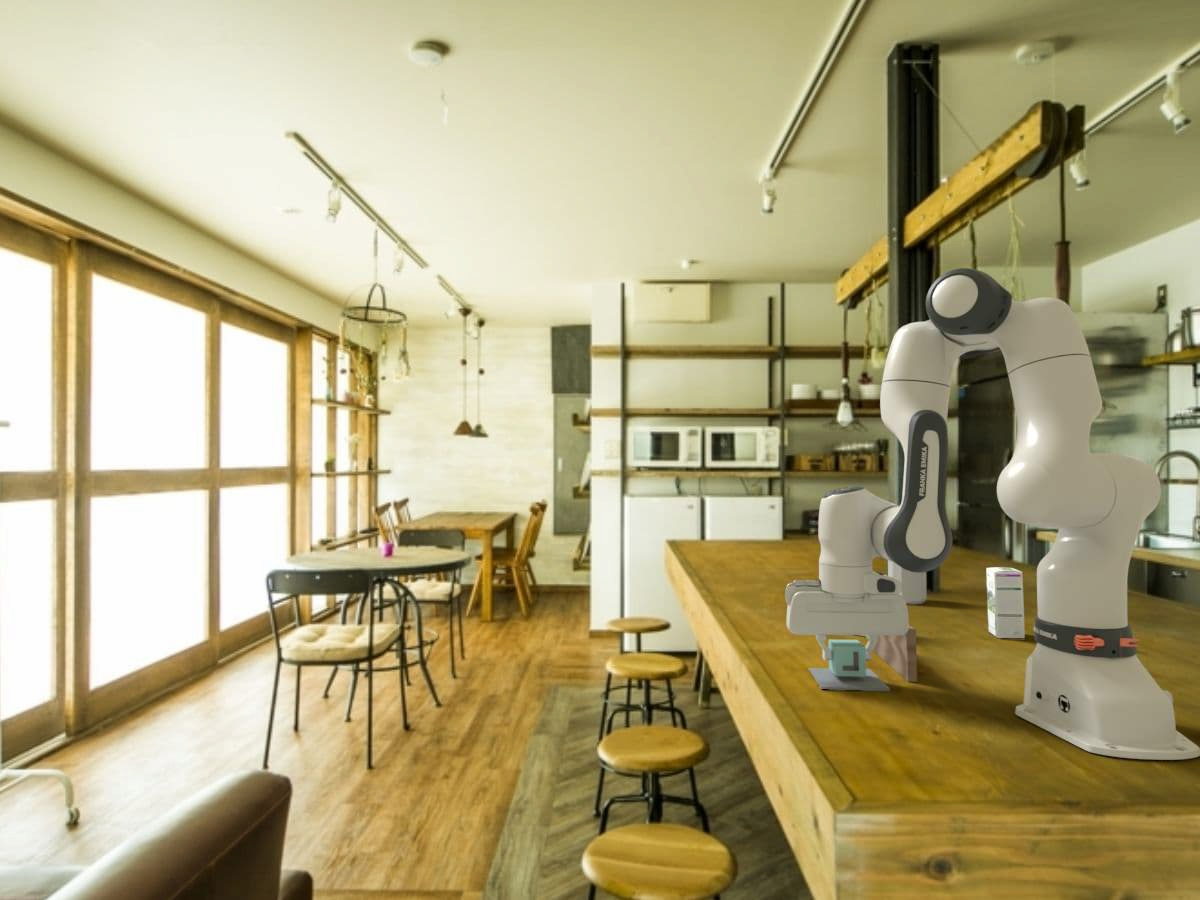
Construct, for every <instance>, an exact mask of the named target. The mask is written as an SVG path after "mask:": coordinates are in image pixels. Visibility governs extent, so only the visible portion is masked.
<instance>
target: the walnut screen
mask: <svg viewBox="0 0 1200 900" xmlns="http://www.w3.org/2000/svg"><path fill="white" fill-rule="evenodd" d="M872 652H874V653H875V654H877V655H878V656H879V657H880V658H881V659H882V660H883V661H885V662H886V664H888V666H890V668H892V669H893V670H894V671H896V672H897V673H898V674H899V675H900V676H901V677H902V678H903V679H904V680H906V682H911V683H914V682H915V683H918V673H917V671H918V670H917V669H918V668H917V666H918V665H917V663H918V662H917V628H914V627H913V626H912V625H910V624H909V630H908V631H907V633H906V634H905V635H878V642H877V644H876V646H875V647H874V649H873V651H872Z"/></svg>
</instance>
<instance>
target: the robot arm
mask: <svg viewBox="0 0 1200 900" xmlns="http://www.w3.org/2000/svg"><path fill="white" fill-rule="evenodd" d="M925 310H926V314H927V316H928V318H929V319H927V320H925V321H916V322H915V321H914V322H910V323H907V324H906V325H905V324H904V325H903V326H901V327H900V328H898V330H897V331H896V332H895V333H894V335H893V338H892V341H891V343H890V346H889V349H888V353H887V356H886V360H885V365H884V368H883V374H882V380H881V388H880V394H879V395H880V397H879V400H880V401H879V402H880V403H879V407H880V417H881V421H882V422H883V424H884V426H885V427H886V428H887V429H888V430H889V431H891V433H893V434H894V436H896V438H897V439H898V441H899V442H900V444H901V447H902V450H903V454H904V464H903V465H904V467H903V478H902V479H903V480H902V482H903V483H902V496H901V503H900V504H899V505H898V504H896V503H893V502H890V501H888V500H885V499H883V498H881V497H879V496H877V495H875V494H874V493H872V492H870V491H869V490H868V489H867V488H866V487H863V486H849V487H847V486H846V487H845V486H844V487H840V488H836V489H832V490H830V491H827V492H826V493H824V495H823V496H822V498H821V500H820V504H819V509H818V510H819V511H818V525H817V526H818V529H817V530H818V531H817V533H818V534H817V535H818V541H819V544H820V553H819V554H820V555H819V557H818V558H819V559H818V579H809V580H802V579H795V580H793V582H789V583H788V584H787V585H786V587H785V590H784V600H785V603H786V604H787V608H786V618H785V620H786V621H785V623H786V627H787V629H788V631H789V632H790V633H792V634H793V635H809V636H811V635H814V636H815V639H816V641H817V642H818V644H819V646H820V648H822V659H823V660H824V661H829V660H833V650H832V649H831V648H829V647H827V645H826V643H825V642H826V641H827V635H829V636H830V635H831V636H834V635H835V636H860V635H866V636H865V637H866V639H867V640H868V641H867V643H866V645H865V656H866V662H871V661H872V652H874V651H873V649H874V647H875V646H876V644H877V642H878V635H905V634H906V633H907V631H908V630H909V625H910V624H909V623H910V622H909V621H910V619H909V612H908V604H906V602H905V600H904V598H903V597H902V596H901V595H899V594H898V593H900V592H901V591H902V584H901V582H899V581H898V580H897V579H895V578H893V577H890V576H888V574H884V573H882V572H879V571H874V570H873V560H874V559H875V558H883V559H885V560H887V561H888V560H889V561H892V562H894V563H896V564H897V565H899V566H900V567H902V568H903V569H905V570H908V571H911V572H917V573H921V572H926V573H927V572H931V571H933V570H936V569H937V568H939V567H940V566H941V565H943V564H944V563H945V561H946V560H947V559H948V558H949V556H950V553H951V551H952V547H953V532H952V529H951V525H950V523H949V519H948V514H947V509H946V508H947V507H946V493H947V490H946V489H947V474H948V473H947V471H948V453H949V452H948V451H949V448H948V446H949V445H948V442H949V440H948V439H949V436H948V412H949V402H950V393H951V388H952V387H951V385H952V377H953V371H954V367H955V363H956V361H957V360H958V359H959V358H961V359H964V360H968V359H971V358H974V357H978V356H983V355H986V354H987V355H988V354H992V353H995V352H999V351H1001V353H1002V355H1003V358H1004V362H1005V363H1004V364H1005V366H1006V372H1007V377H1008V379H1009V385H1010V389H1011V394H1012V400H1013V403H1014V410H1015V414H1016V424H1017V425H1016V426H1017V427H1016V428H1017V429H1016V430H1017V431H1016V432H1017V433H1016V442H1015V446H1014V452H1013V455H1012V457H1011V459H1010V461H1009V463H1008V464H1007V465H1006V466H1004V468H1003V469H1002V470H1001V472H1000V474H999V476H998V480H997V484H996V496H997V501H998V503H999V506H1000V508H1001V509H1002V511H1003V512H1004V514H1006V516H1008V517H1009V518H1010V519H1011V520H1013V521H1015V522H1017V523H1020V524H1024V525H1026V526H1027V525H1028V526H1031V527H1034V528H1035V527H1036V528H1041V529H1049V530H1052V529H1053V530H1054V529H1058V532H1057V535H1056V538H1055V541H1054V543H1053V545H1052V547H1051V549H1050V550H1049V551H1048V553H1047V554H1046V555H1045V556H1043V558H1042V559H1040V561H1039V563H1038V564H1037V568H1036V597H1037V598H1036V599H1037V600H1036V604H1037V607H1036V609H1037V615H1036V616H1035V617H1034V620H1033V621H1034V624H1033V632H1034V634H1033V635H1034V640H1035V642H1037V643H1036V645H1035V648H1034V650H1033V651H1032V652H1031V654H1030V655H1029V656H1028V657H1027V659H1026V662H1025V676H1024V677H1025V678H1024V690H1023V691H1024V692H1023V693H1024V694H1023V703H1022V704H1019V705H1016V706H1015V711H1014V715H1016V716H1018V717H1020V718H1022V719H1024V720H1026V721H1028V722H1030V723H1031V724H1033V725H1035V726H1037V727H1039V728H1041V729H1043V730H1045V731H1048V732H1049V733H1051V734H1052V735H1054V736H1057V737H1058V738H1061V739H1063V740H1065V741H1067V742H1069V743H1071V744H1073V745H1074V746H1076V747H1079V748H1081V749H1083V750H1084V751H1086V752H1089V753H1093V754H1097V755H1102V756H1109V757H1116V758H1123V759H1124V758H1125V759H1133V760H1134V759H1137V760H1159V761H1160V760H1161V761H1164V760H1165V761H1167V760H1169V761H1173V760H1174V761H1175V760H1178V761H1179V760H1189V759H1195V758H1198V757H1200V747H1199V746H1198V745H1197V744H1196V743H1194V742H1193V741H1192V740H1190V739H1188V737H1186V736H1185V735H1183V734H1182V733H1180V732H1179V731H1178V730H1177V728H1176V727H1177V726H1176V720H1175V718H1176V717H1175V711H1174V699H1173V695H1172V693H1171V692H1170V691H1169V690H1163V689H1162V688H1161V687H1160V686H1159V685H1158V683H1157V682H1156V680H1155V679H1154V678H1153V677H1152V675H1151V674H1150V673H1149V671H1148V670H1147V668H1145V666H1144V665H1143V664H1142V662H1141V661H1140V660H1139V658H1138V656H1137V654H1138V648H1140V645H1139V644H1136V642H1140V639H1139V638H1135V637H1136V636H1135V635H1134V633H1133V631H1132V626H1131V625H1130V624H1129V623H1128V575H1129V567H1130V562H1131V558H1132V554H1133V551H1134V547H1135V544H1136V542H1137V539H1138V536H1139V533H1140V530H1141V528H1142V526H1143V524H1144V522H1145V520H1146V519H1147V517H1148V516H1149V515H1150V514H1151V513H1152V512H1153V511H1155V509H1156V508H1157V506H1158V505H1159V502H1160V500H1161V496H1162V486H1161V480H1160V479H1159V477H1158V475H1157V473H1156V471H1154V469H1153V468H1152V467H1151V466H1150V465H1148V464H1147V463H1145V462H1143V461H1141V460H1139V459H1135V458H1132V457H1130V456H1124V455H1121V454H1119V453H1118V454H1117V453H1110V452H1109V453H1108V452H1105V453H1101V452H1100V453H1099V452H1095V453H1092V452H1091V450H1090V449H1091V448H1090V434H1091V427H1092V424H1093V421H1094V420H1095V419H1096V418H1097V417H1098V416H1099V415H1100V414H1101V411H1102V408H1103V399H1102V396H1101V392H1100V388H1099V384H1098V380H1097V376H1096V373H1095V368H1094V365H1093V362H1092V357H1091V353H1090V350H1089V346H1088V344H1087V341H1086V338H1085V335H1084V333H1083V331H1082V328H1081V326H1080V324H1079V322H1078V319H1077V318H1076V316H1075V313H1074V311H1073V310H1072V309H1071V307H1070V306H1069V304H1068V303H1066V301H1064V300H1062V299H1059V298H1056V297H1049V296H1045V297H1036V298H1032V299H1027V300H1025V301H1018V300H1016V299H1015V298H1014V297H1013V296H1012V293H1011V292H1010V291H1009V290H1007V289H1006V287H1004V286H1003V285H1002V284H1001V283H1000V282H998V281H997V280H996V279H995V278H994V277H993V276H991V275H989V274H987V273H986V272H984V271H981V270H978V269H976V268H975V269H973V268H969V267H964V268H963V267H961V268H955V269H951V270H949V271H947V272H944V273H943V274H942V275H940V276H939V277H937V279H936V280H935V281H934V282H933V283H932V284H931V286H930V288H929V289H928V292H927V294H926V297H925Z"/></svg>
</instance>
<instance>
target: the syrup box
mask: <svg viewBox="0 0 1200 900" xmlns="http://www.w3.org/2000/svg"><path fill="white" fill-rule="evenodd" d="M985 575H986V599H987V600H986V601H987V625H988V626H987V629H988V633H989V634H991V636H993V637H995V639H996V638H997V639H1001V638H1025V637H1026V636H1025V607H1024V606H1025V605H1024V601H1025V600H1024V583H1023V582H1024V580H1023V579H1024V578H1023V571H1021V570H1018V569H1017V568H1016V569H1015V568H1013V567H1004V566H997V567H996V566H994V567H986V574H985Z"/></svg>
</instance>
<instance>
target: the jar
mask: <svg viewBox="0 0 1200 900" xmlns="http://www.w3.org/2000/svg"><path fill="white" fill-rule="evenodd" d="M887 576H890V577H893V578H895V579H897V580H898V581H899V582H901V584H902V591H901V592H900V593H898V594H899V595H901V596H902V597H903V598H904V600H905V602H906V605H922V604H924V603H925V602H926V601H927V595H928V594H927V572H921V573H917V572H911V571H908V570H905V569H903V568H902V567H900V566H899V565H897V564H896V563H894V562H892V561H889V560H887Z"/></svg>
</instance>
